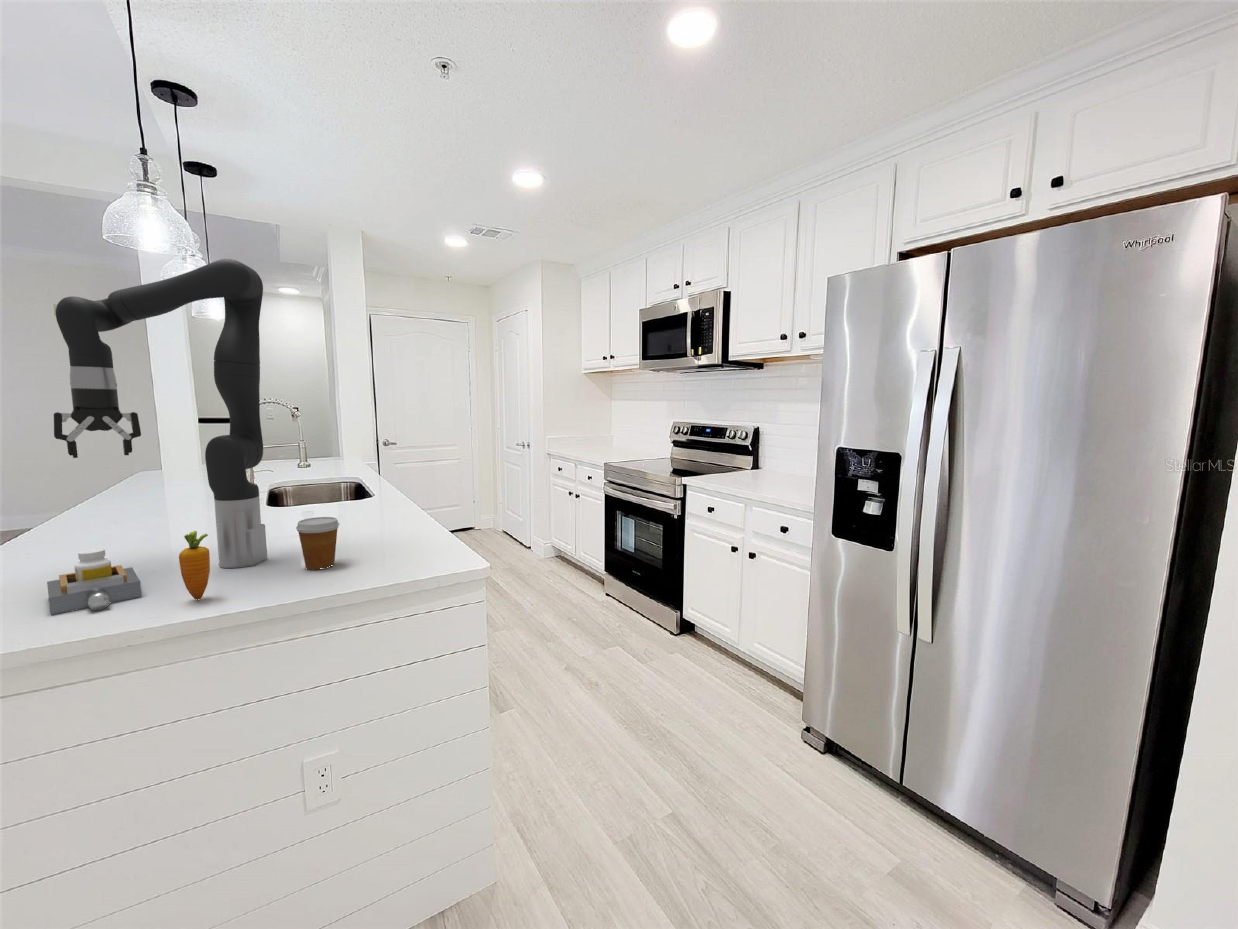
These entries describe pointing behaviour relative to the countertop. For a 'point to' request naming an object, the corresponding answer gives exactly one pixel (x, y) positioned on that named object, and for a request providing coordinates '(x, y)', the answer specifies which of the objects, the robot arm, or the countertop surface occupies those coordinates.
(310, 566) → the disposable coffee cup
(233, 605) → the countertop surface
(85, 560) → the supplement bottle
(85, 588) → the grey drawer
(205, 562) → the carrot
